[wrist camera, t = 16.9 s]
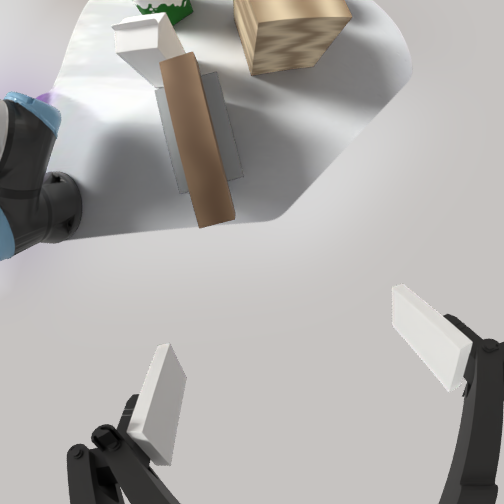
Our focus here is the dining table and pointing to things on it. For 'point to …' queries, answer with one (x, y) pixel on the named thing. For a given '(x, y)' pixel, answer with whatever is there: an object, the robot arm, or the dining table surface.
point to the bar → (196, 140)
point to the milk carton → (166, 8)
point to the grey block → (220, 128)
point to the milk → (147, 44)
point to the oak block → (287, 31)
